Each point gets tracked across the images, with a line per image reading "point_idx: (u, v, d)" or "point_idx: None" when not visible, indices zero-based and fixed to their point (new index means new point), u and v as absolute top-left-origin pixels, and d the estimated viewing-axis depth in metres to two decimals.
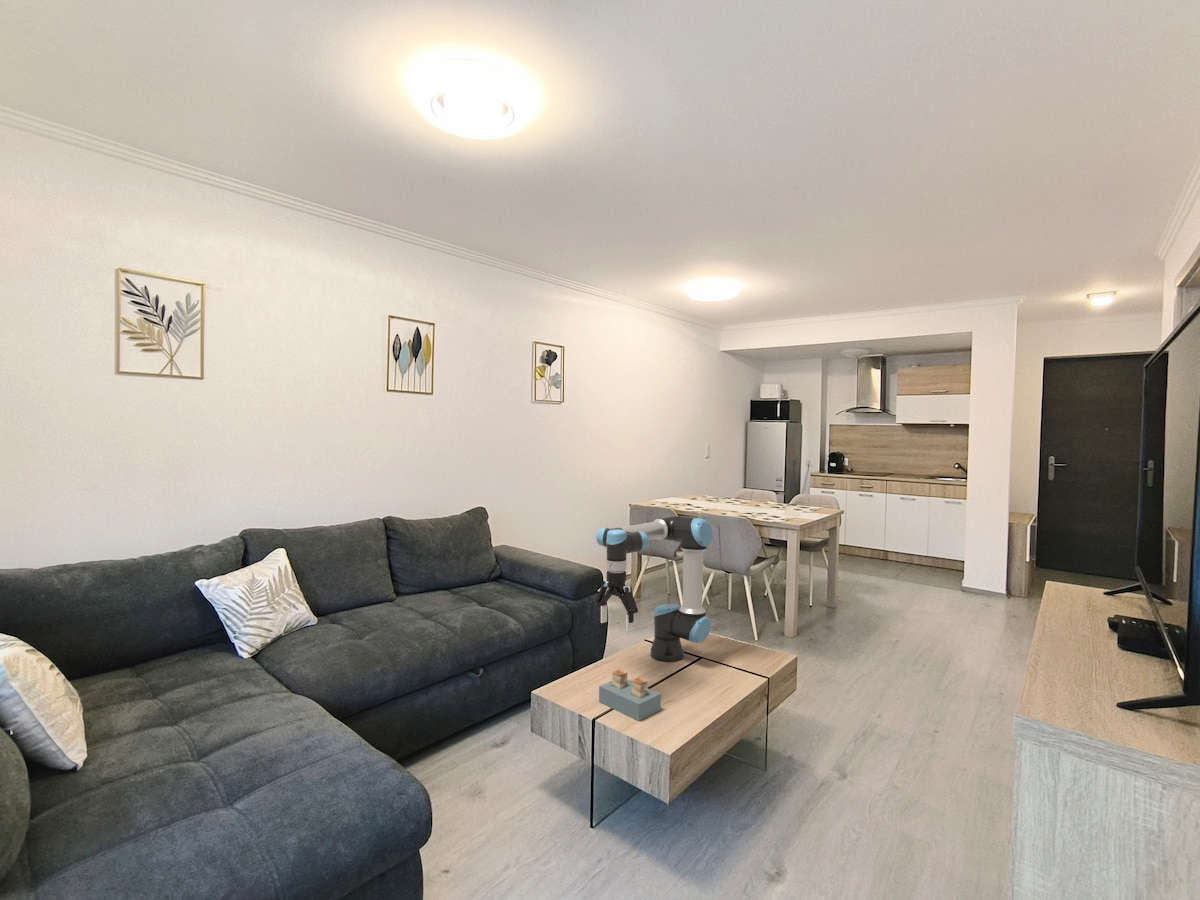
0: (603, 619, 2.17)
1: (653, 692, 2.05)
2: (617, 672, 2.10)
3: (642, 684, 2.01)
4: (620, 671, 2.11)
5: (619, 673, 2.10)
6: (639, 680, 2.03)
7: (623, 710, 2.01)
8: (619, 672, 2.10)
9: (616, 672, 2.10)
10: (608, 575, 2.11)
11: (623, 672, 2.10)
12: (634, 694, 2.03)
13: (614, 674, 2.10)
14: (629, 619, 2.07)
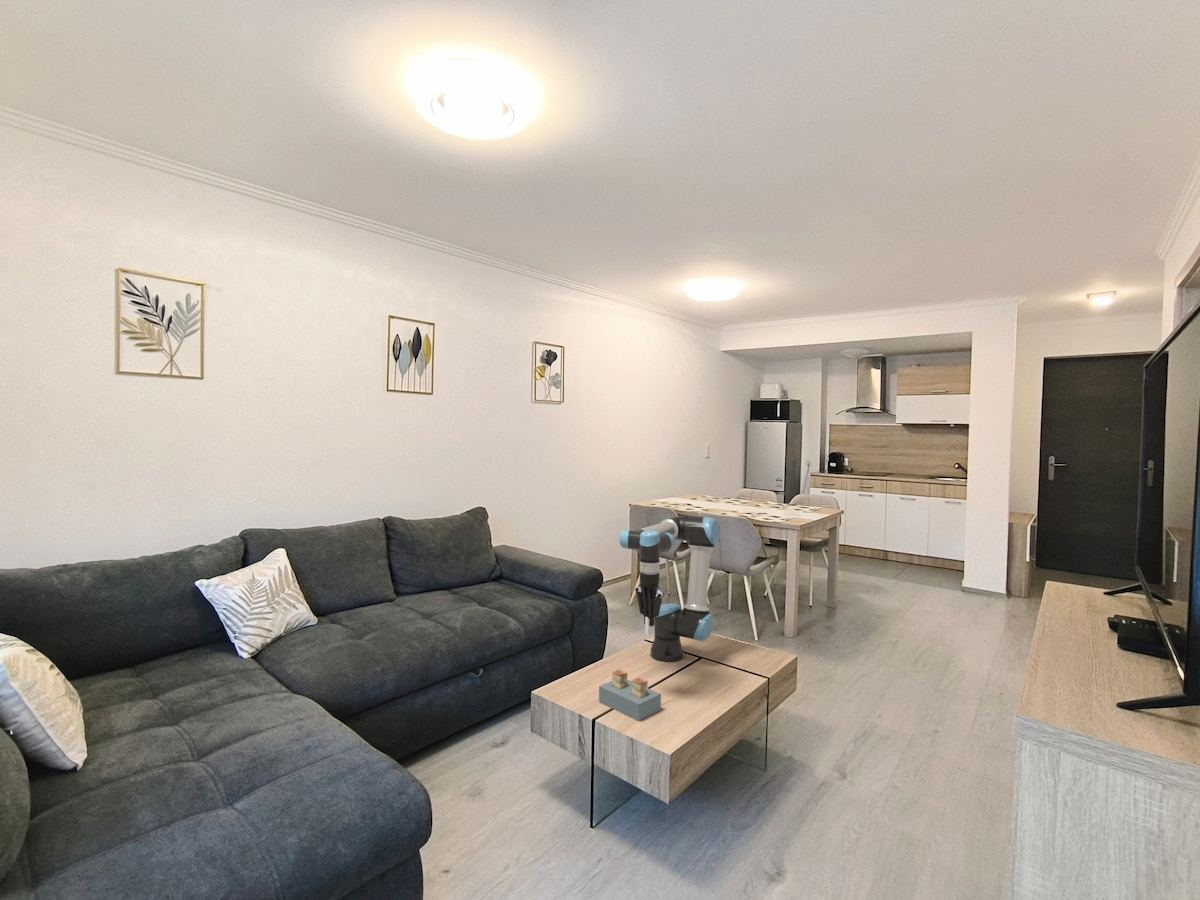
0: None
1: (653, 692, 2.05)
2: (617, 672, 2.10)
3: (642, 684, 2.01)
4: (620, 671, 2.11)
5: (619, 673, 2.10)
6: (639, 680, 2.03)
7: (623, 710, 2.01)
8: (619, 672, 2.10)
9: (616, 672, 2.10)
10: (642, 576, 2.12)
11: (623, 672, 2.10)
12: (634, 694, 2.03)
13: (614, 674, 2.10)
14: (650, 623, 2.13)
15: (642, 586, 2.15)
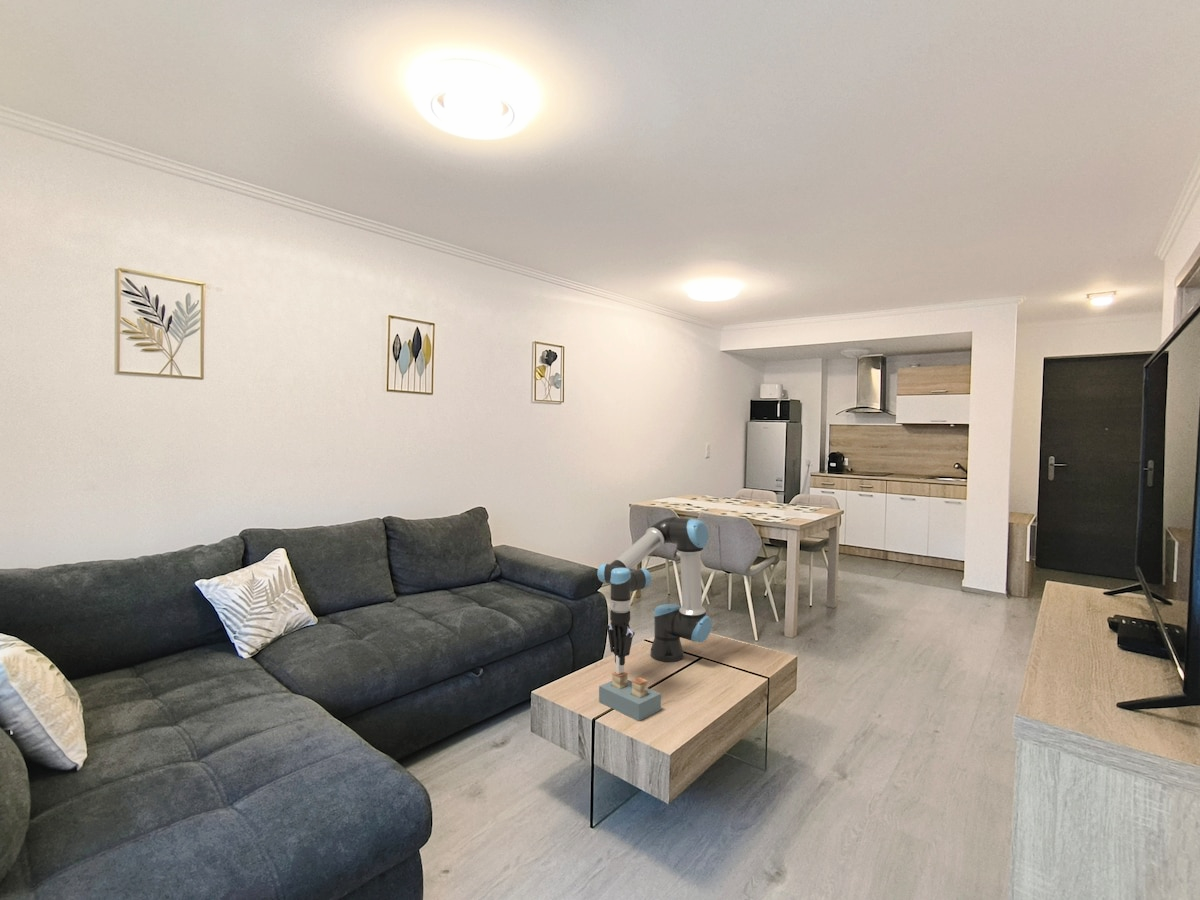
0: None
1: (653, 692, 2.05)
2: None
3: (642, 684, 2.01)
4: None
5: (619, 674, 2.10)
6: (639, 680, 2.03)
7: (623, 710, 2.01)
8: None
9: (616, 673, 2.10)
10: (612, 615, 2.08)
11: (623, 673, 2.10)
12: (634, 694, 2.03)
13: (614, 675, 2.10)
14: (620, 661, 2.09)
15: (613, 624, 2.11)
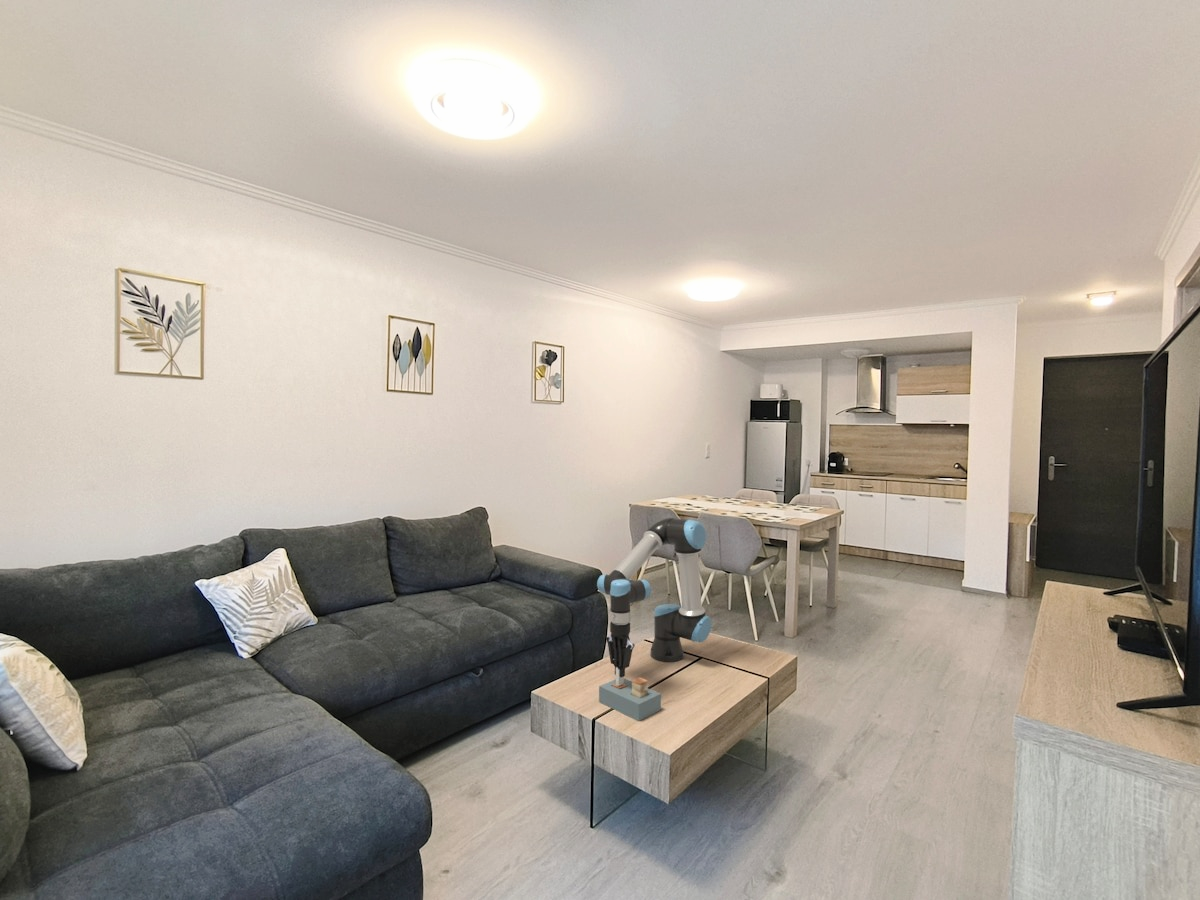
0: None
1: (653, 692, 2.05)
2: None
3: (642, 684, 2.01)
4: None
5: (619, 686, 2.10)
6: (639, 680, 2.03)
7: (623, 710, 2.01)
8: None
9: (616, 685, 2.10)
10: (612, 627, 2.08)
11: (623, 685, 2.10)
12: (634, 694, 2.03)
13: None
14: (620, 673, 2.09)
15: (613, 636, 2.11)
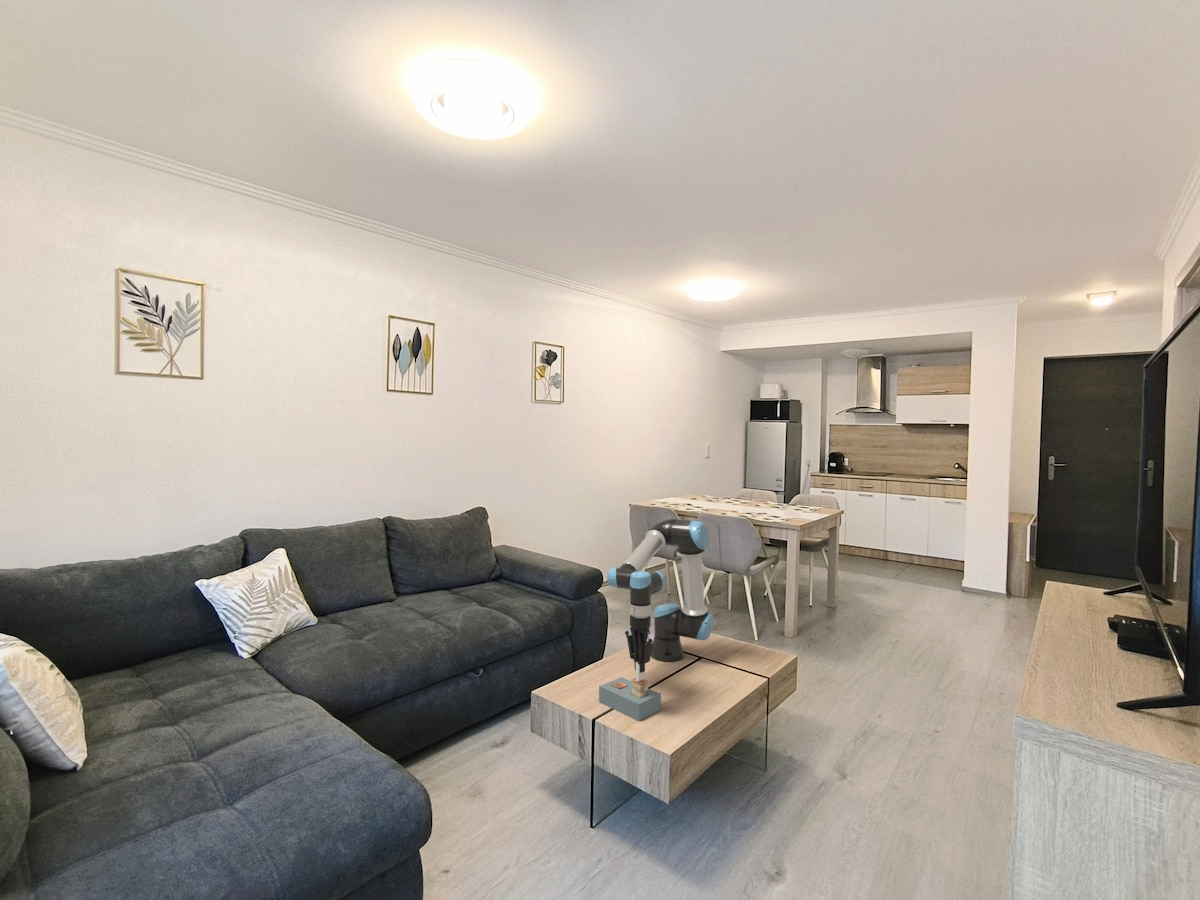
0: None
1: (653, 692, 2.05)
2: (617, 685, 2.10)
3: (642, 684, 2.01)
4: (620, 684, 2.11)
5: (619, 686, 2.10)
6: None
7: (623, 710, 2.01)
8: (619, 685, 2.10)
9: (616, 685, 2.10)
10: (632, 620, 2.01)
11: (623, 685, 2.10)
12: (634, 694, 2.03)
13: None
14: (640, 669, 2.02)
15: (632, 629, 2.04)
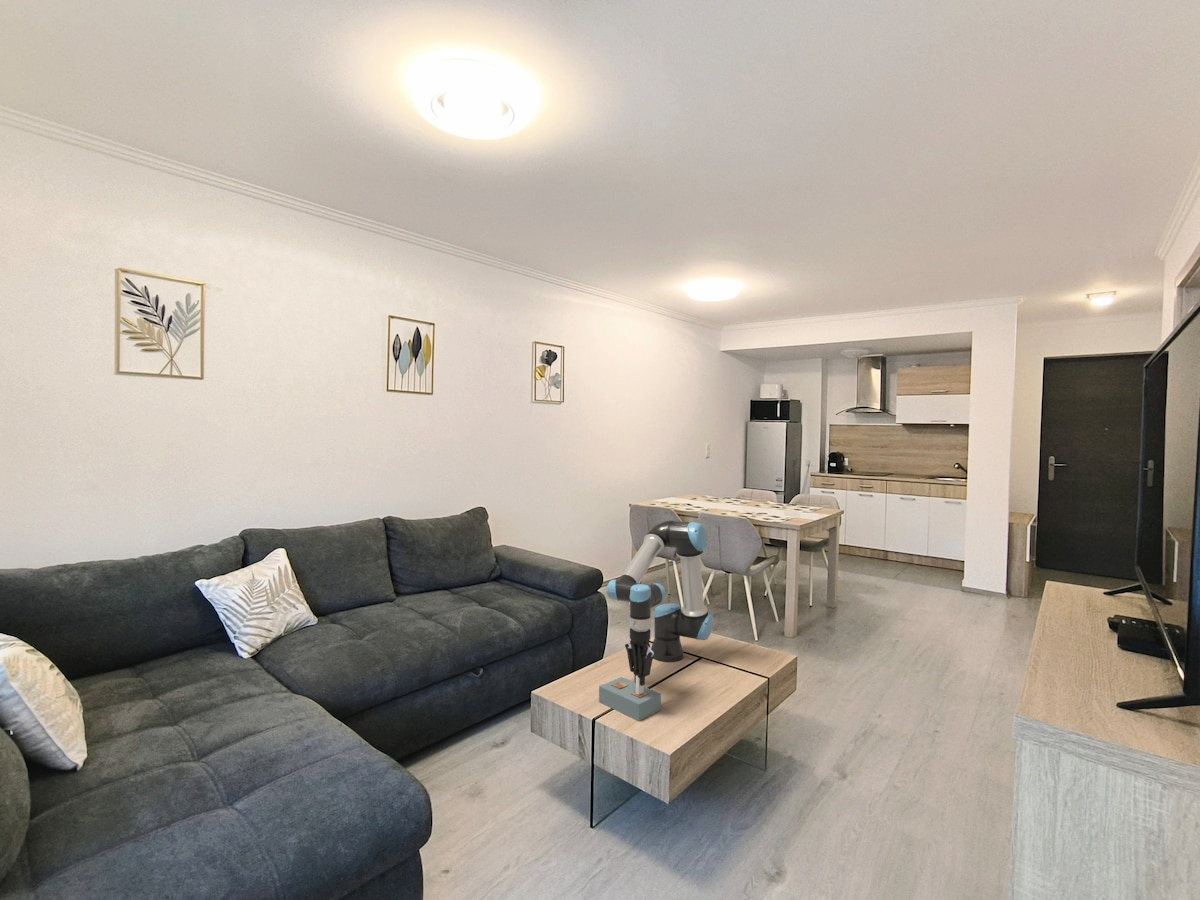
0: None
1: (653, 692, 2.05)
2: (617, 685, 2.10)
3: None
4: (620, 684, 2.11)
5: (619, 686, 2.10)
6: None
7: (623, 710, 2.01)
8: (619, 685, 2.10)
9: (616, 685, 2.10)
10: (632, 633, 2.01)
11: (623, 685, 2.10)
12: None
13: None
14: (640, 682, 2.02)
15: (632, 643, 2.04)
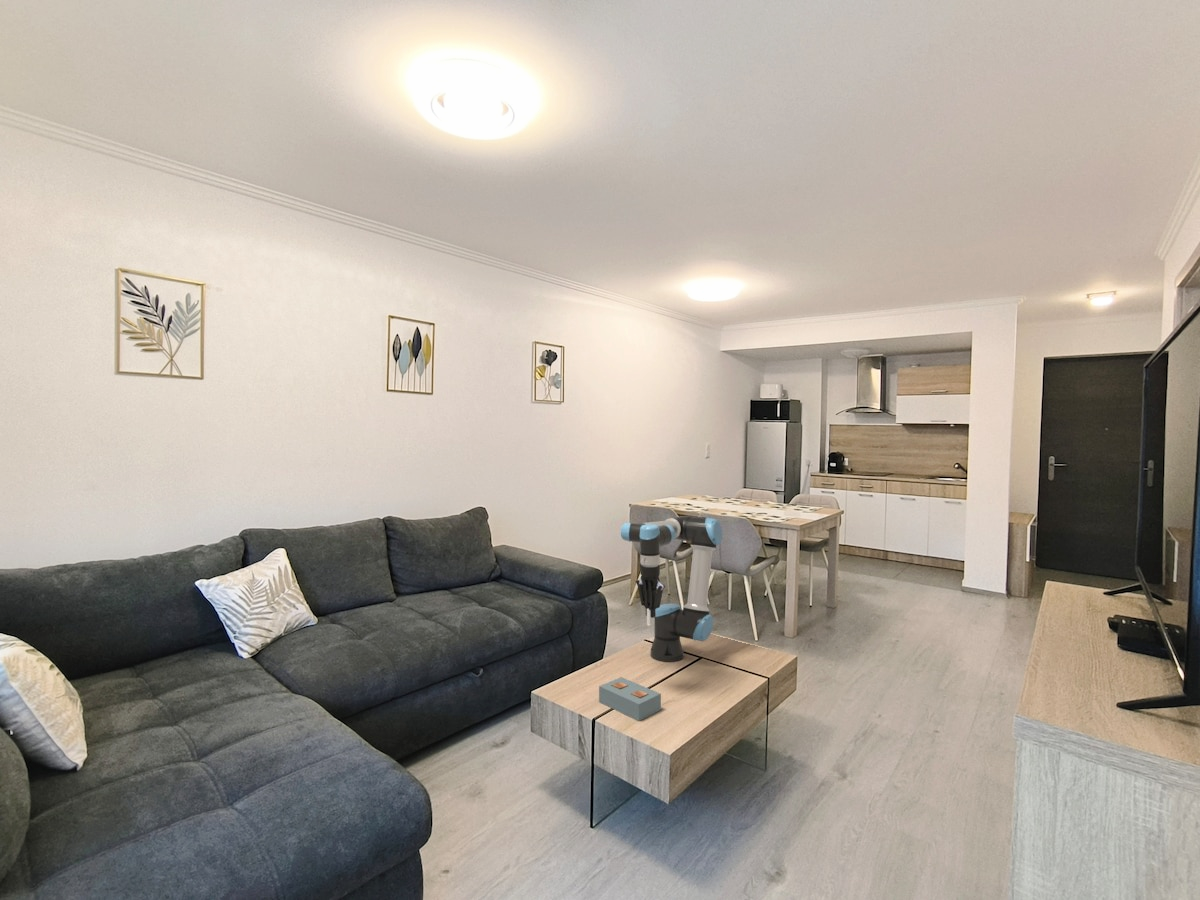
0: None
1: (653, 692, 2.05)
2: (617, 685, 2.10)
3: None
4: (620, 684, 2.11)
5: (619, 686, 2.10)
6: (639, 693, 2.03)
7: (623, 710, 2.01)
8: (619, 685, 2.10)
9: (616, 685, 2.10)
10: (642, 569, 2.15)
11: (623, 685, 2.10)
12: None
13: None
14: (651, 614, 2.16)
15: (643, 578, 2.18)
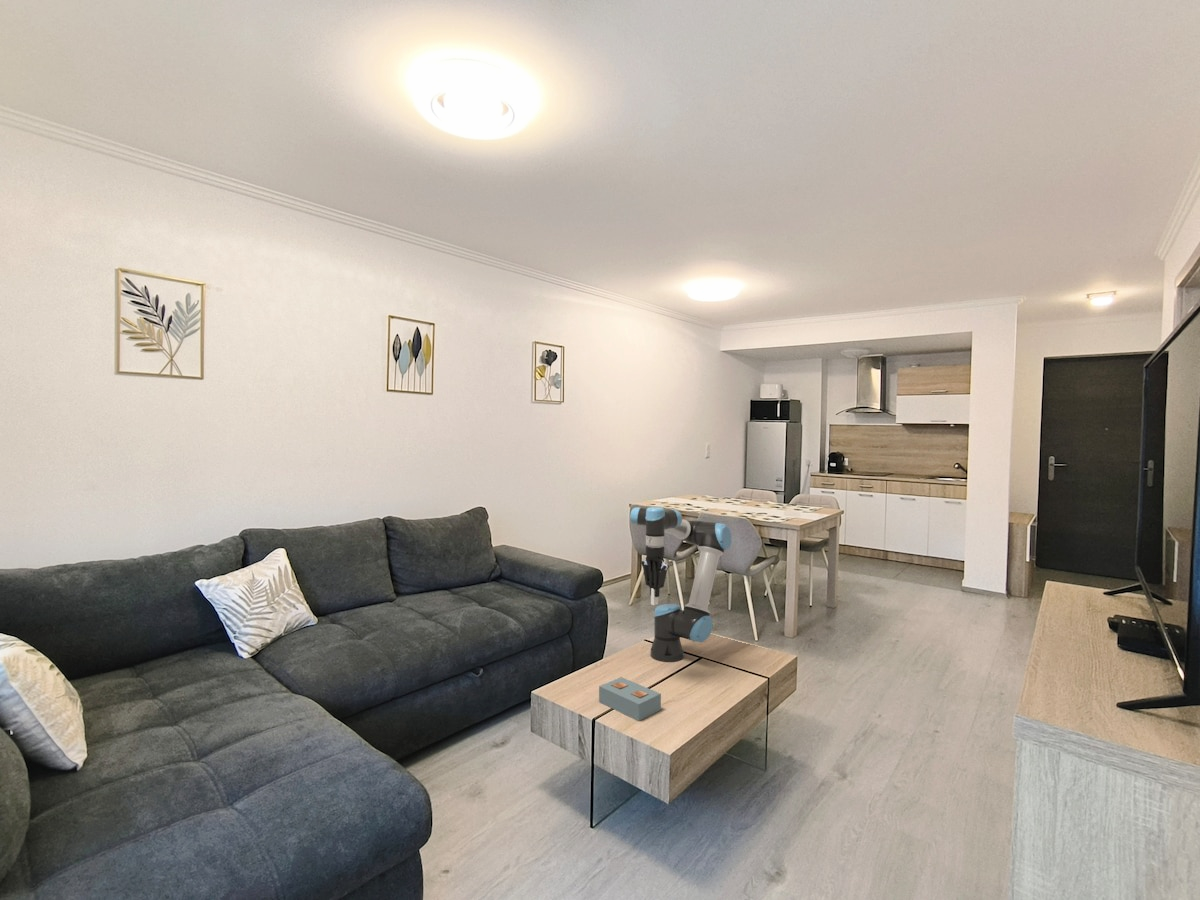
0: None
1: (653, 692, 2.05)
2: (617, 685, 2.10)
3: None
4: (620, 684, 2.11)
5: (619, 686, 2.10)
6: (639, 693, 2.03)
7: (623, 710, 2.01)
8: (619, 685, 2.10)
9: (616, 685, 2.10)
10: (647, 550, 2.23)
11: (623, 685, 2.10)
12: None
13: None
14: (655, 593, 2.24)
15: (648, 559, 2.27)
